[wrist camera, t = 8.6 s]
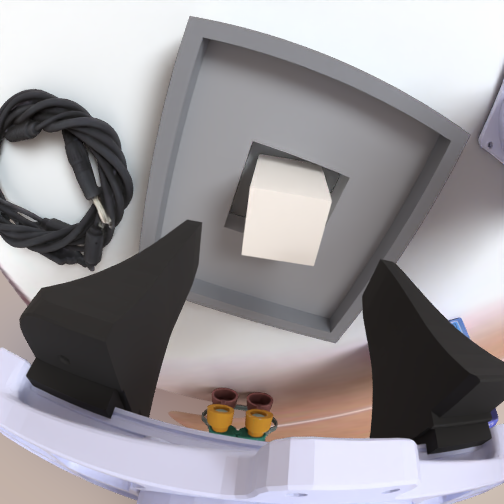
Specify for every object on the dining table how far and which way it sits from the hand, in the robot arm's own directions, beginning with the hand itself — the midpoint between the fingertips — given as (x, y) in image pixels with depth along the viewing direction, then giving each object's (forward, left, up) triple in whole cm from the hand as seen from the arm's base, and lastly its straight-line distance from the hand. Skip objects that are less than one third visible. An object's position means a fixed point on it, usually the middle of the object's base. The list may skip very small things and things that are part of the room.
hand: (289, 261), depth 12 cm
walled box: (0, +1, -9) cm, 9 cm away
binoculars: (-5, +27, -10) cm, 29 cm away
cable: (+19, +5, -10) cm, 22 cm away
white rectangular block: (0, +1, -9) cm, 9 cm away
